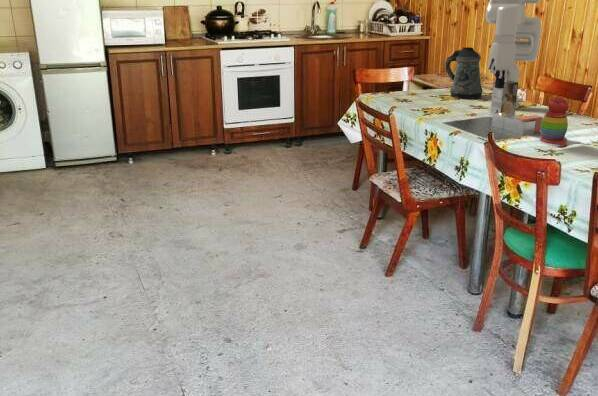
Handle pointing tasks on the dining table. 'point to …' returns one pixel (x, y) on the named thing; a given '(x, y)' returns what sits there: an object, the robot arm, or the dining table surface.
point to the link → (513, 123)
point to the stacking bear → (555, 122)
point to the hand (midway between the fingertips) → (499, 87)
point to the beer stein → (465, 74)
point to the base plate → (484, 128)
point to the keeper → (534, 117)
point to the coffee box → (504, 98)
